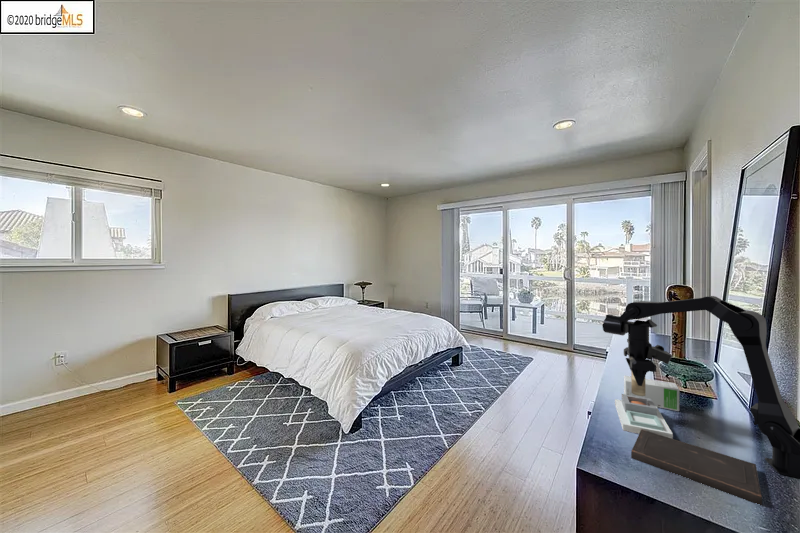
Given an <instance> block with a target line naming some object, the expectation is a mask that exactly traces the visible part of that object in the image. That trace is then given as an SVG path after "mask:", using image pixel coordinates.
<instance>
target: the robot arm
mask: <svg viewBox="0 0 800 533" xmlns="http://www.w3.org/2000/svg"><path fill="white" fill-rule="evenodd" d="M697 311H707V312H709V313H710V314H712V315H714V317H715V318H718V320H721V321H722V322H724V323H726V324H728V326H729V328H730V330H731V332H732V334H733V335H734V338H736V340H737V341H738V342H739V343H740V345H741V348H742V349H743V353H744V356H745V359H746V362H747V363H746V364H747V367H748V369H749V372H750V376H751V380H752V383H753V386H754V390H755V393H756V397H757V400H758V401H757V402H755V404H754V405H752V406H751V407H750V408H749V410H750V413H751V414H752V417H753V419H754V420H753V425H754V426H756V425H757V427H758V429H759V431H760V432H761V433H762V434H763V435H764V436H766V437H767V439H768V441H769V443H770V446H771V447H772V448H771V450H772V451H771V455H772V456H771V458H770V457H764V458H765V459H764V460H765V461H766V463H768V464H769V465H770V466H771V467H772V468H773V469H774V471H776V472H777V474H779V475H783V476H789V477H791V478H792V477H793V478H798V479H800V426H799V423H798V421H797V419H796V417H795V415H794V414H793V412H792V410H791V409H790V408H789V407H788V405H787V404H786V402H784V400H783V397H782V394H781V391H780V389H779V384H778V381H777V378H776V375H775V372H774V368H773V366H772V362H771V359H770V355H769V352H768V349H767V345H766V343H767V336H768V335H767V320H766V318H765V317H764V316H763V314H761V313H759V312H756V311H755V310H754V311H753V310H746V309H744V308H742V307H739V306H738V305H735V304H733V303H730V302H728V301H725V300H723V299H721V298H719V297H718V296H715V295H708V296H704V297H697V298H688V299H680V300H679V299H678V300H670V301H669V300H668V301H646V300H645V301H643V300H641V301H633V302H632V301H631V302H629V303H627V305H626V307H625V310H624V311H623V312H622V314H621V315H620V316H618V315H614V314H606V315H605V318H604V320H603V323H602V331H603V332H604V333H605V334H612V335H618V336H625V335H626V334H627V335H628V336H627V337H628V338H626V342H627V347H625V348H623V356H624V357H625V360H626V363H627V365H628V367H629V369H630V371H631V370H632V373H633V375H634V377H635V380H636V382H637V385H638V386H642V384H643V381H644V378H645V379H646V375H647V373H649V372H653V373H655V372H657V365H656V364H655V363H654V362H653V361H652V360H654V359H655V360H657V361H660V362H662V363H663V364H666V365H669V363H670V361H671V359H672V356H673V355H672V354H671V353H670V352H668V351H665V347H664V346H662V345H659V344H657V345H655V346H654V345H652V343H650V328H652V329H653V328H655V327H656V328H657V327H658V324H657V323H655V322H654V321H653V320H652V319H650V317H654V316H659V315H663V314H673V313H675V314H676V313H686V312H697ZM646 318H649V319H647V320H641V319H646ZM631 320H634V321H631ZM627 356H628V357H627Z"/></svg>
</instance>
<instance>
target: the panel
mask: <svg viewBox="0 0 800 533" xmlns="http://www.w3.org/2000/svg"><path fill="white" fill-rule="evenodd" d="M631 401H638V402H642V403H644V404H646V405H641V404H635V403H630V402H631ZM614 406H615V410H616V412H617V415H618V419H619V422H620V425H621V428H622V431H623V432H629V433H633V434H638V435H639V433H640V431H641V429H642V430H645V431H649V432H652V433H655V434H659V435H662V436H665V437H668V438H672V439H674V434H673V431H672V430H671V429H670V427H669V425H668V424H667V422H666V420H665V418H664V417H663V415H662V413H661V411H660V410H659V407H656V406H655V405H654V403H653V401H652V400H651V399H650V398H644V397H638V396H631V395H625V394H624V393H621V399H618V398H616V399H614Z"/></svg>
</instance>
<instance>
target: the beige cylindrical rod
mask: <svg viewBox="0 0 800 533" xmlns="http://www.w3.org/2000/svg"><path fill="white" fill-rule="evenodd" d="M630 372H631V373H630V374H631V384H632V393H633V394H635V395H638V396H645V379H646V377H645V378H644V381H643V384H642V386H638V385H637V382H636V380H635V377H634V375H633V373H632V370H630Z"/></svg>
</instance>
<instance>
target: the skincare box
mask: <svg viewBox="0 0 800 533" xmlns="http://www.w3.org/2000/svg"><path fill="white" fill-rule="evenodd" d="M623 378H624V379H623V394H625V395H631V396H638V395H635V394H633V393H632V384H631V376H630V375H623ZM638 397H644V398H650V399H651V400H652V401H653V403H654V405H655V406H656V407H657V408H658V409H659V408H660V409H665V410H670V411H674V412H675V411H676V412H680V388H679V387H678V385H677V384H676V383H675V382H671V381H669V382H668V381H662V380H657V379H649V378H645V396H638Z"/></svg>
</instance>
